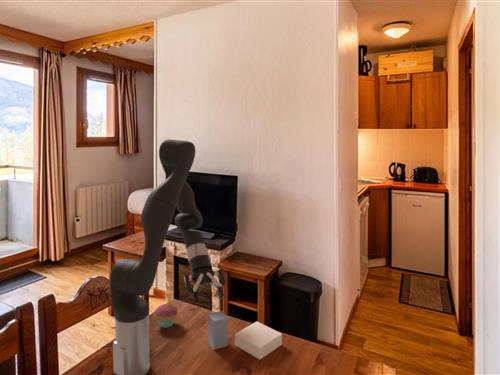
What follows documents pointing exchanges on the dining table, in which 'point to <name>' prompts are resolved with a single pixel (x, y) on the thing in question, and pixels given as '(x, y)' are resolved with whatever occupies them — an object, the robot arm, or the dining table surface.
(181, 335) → the dining table surface
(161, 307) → the cupcake
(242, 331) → the base
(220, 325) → the block
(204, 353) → the dining table surface
